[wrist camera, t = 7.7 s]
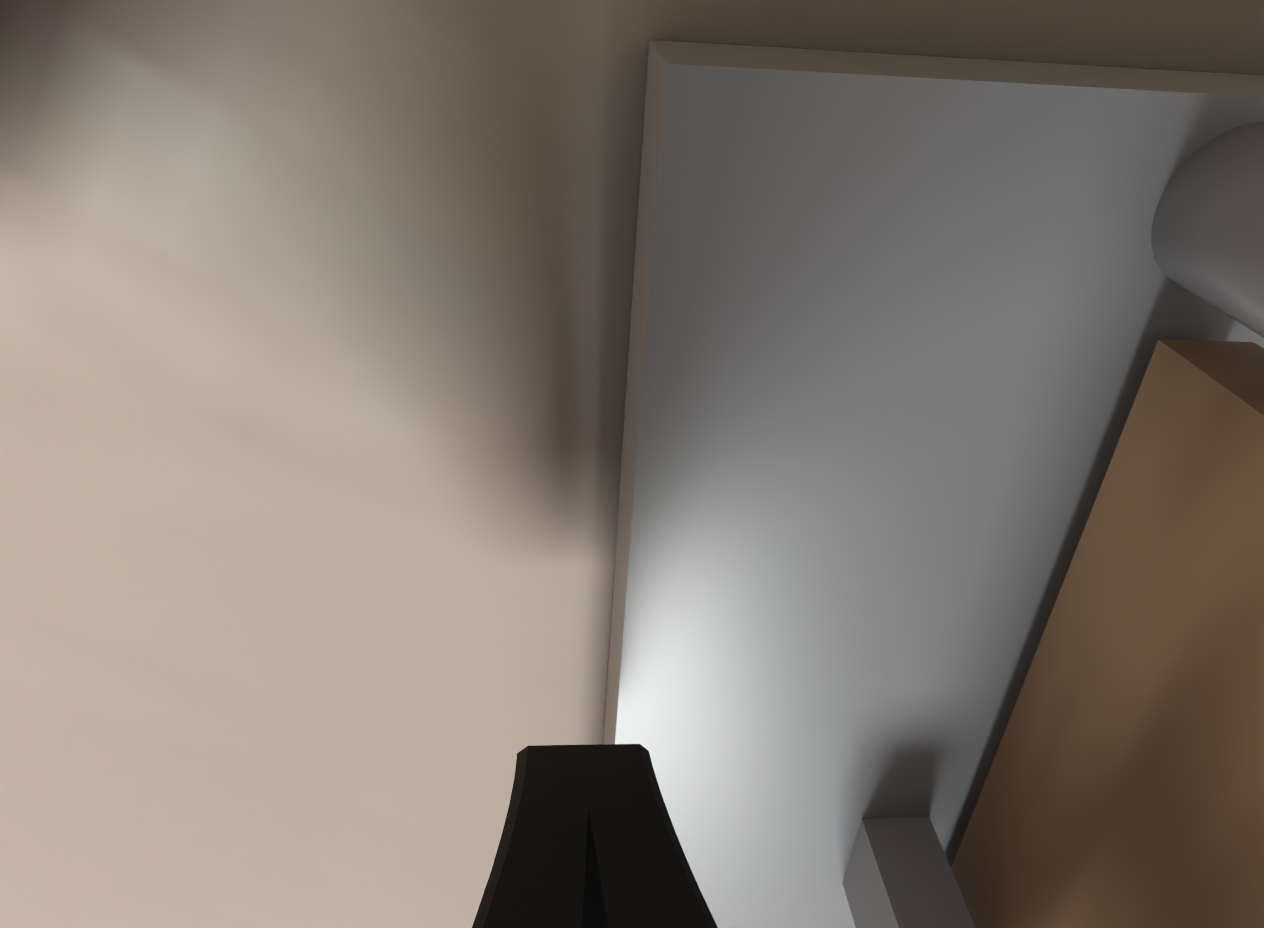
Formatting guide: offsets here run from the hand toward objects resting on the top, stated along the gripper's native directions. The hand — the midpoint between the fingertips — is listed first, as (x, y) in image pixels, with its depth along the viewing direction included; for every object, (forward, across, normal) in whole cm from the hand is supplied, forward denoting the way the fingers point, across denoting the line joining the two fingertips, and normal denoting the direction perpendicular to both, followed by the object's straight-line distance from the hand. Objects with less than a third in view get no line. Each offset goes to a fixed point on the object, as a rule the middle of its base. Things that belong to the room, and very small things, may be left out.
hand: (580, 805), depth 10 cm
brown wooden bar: (+1, -6, 0) cm, 7 cm away
